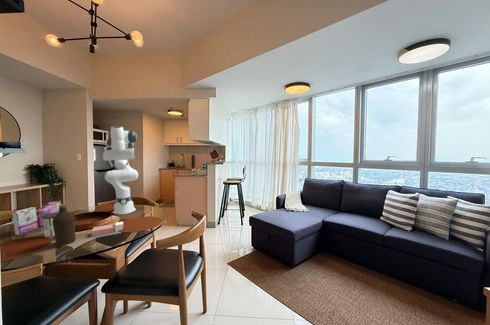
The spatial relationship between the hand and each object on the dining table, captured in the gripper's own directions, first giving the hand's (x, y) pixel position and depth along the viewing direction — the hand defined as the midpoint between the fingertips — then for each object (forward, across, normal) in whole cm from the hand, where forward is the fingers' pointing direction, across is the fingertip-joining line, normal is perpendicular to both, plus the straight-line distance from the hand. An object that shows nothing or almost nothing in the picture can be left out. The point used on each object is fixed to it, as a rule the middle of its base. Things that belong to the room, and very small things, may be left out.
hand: (119, 165), depth 155 cm
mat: (+46, +6, +11) cm, 48 cm away
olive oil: (+46, +32, +13) cm, 58 cm away
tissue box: (+46, +41, -7) cm, 63 cm away
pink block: (+46, +13, +11) cm, 49 cm away
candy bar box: (+46, +58, -23) cm, 78 cm away
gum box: (+46, +48, -40) cm, 78 cm away
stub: (+46, +3, +11) cm, 47 cm away
